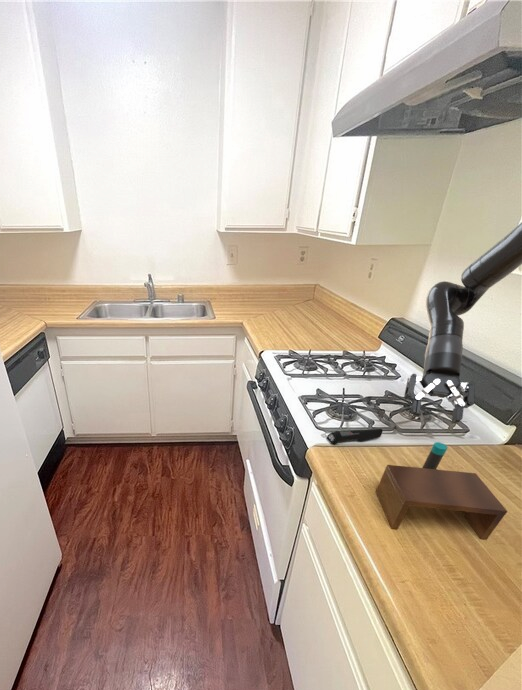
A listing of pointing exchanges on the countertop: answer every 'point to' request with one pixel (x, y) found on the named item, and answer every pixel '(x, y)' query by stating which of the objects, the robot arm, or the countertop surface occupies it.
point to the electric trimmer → (353, 435)
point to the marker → (435, 455)
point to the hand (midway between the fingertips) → (435, 419)
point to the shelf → (439, 496)
